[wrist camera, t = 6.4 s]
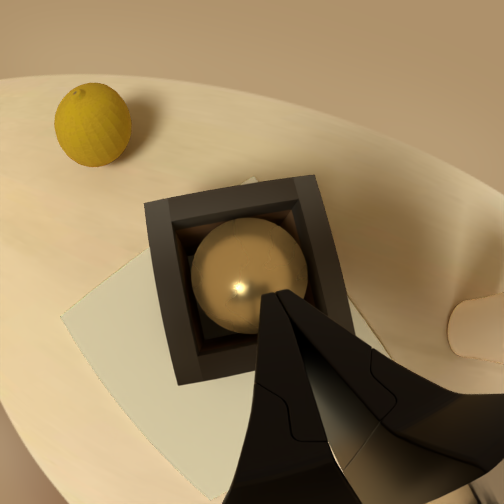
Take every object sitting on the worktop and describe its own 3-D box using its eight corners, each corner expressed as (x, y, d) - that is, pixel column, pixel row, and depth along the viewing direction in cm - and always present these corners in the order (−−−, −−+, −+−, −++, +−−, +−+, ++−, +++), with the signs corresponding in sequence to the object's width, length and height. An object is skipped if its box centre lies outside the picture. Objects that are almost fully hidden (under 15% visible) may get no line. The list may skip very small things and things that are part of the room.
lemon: (113, 115, 23) (86, 53, 15) (154, 145, 23) (134, 79, 15) (68, 160, 21) (25, 108, 14) (106, 196, 21) (63, 144, 13)
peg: (282, 317, 20) (318, 318, 13) (209, 333, 19) (204, 345, 12) (266, 245, 21) (292, 209, 14) (193, 259, 20) (181, 229, 13)
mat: (390, 360, 21) (393, 361, 21) (210, 498, 17) (210, 500, 17) (253, 178, 23) (253, 175, 22) (62, 316, 19) (59, 316, 19)
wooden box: (304, 332, 21) (356, 341, 13) (192, 357, 20) (178, 385, 11) (279, 224, 22) (314, 174, 14) (170, 245, 21) (144, 203, 13)
